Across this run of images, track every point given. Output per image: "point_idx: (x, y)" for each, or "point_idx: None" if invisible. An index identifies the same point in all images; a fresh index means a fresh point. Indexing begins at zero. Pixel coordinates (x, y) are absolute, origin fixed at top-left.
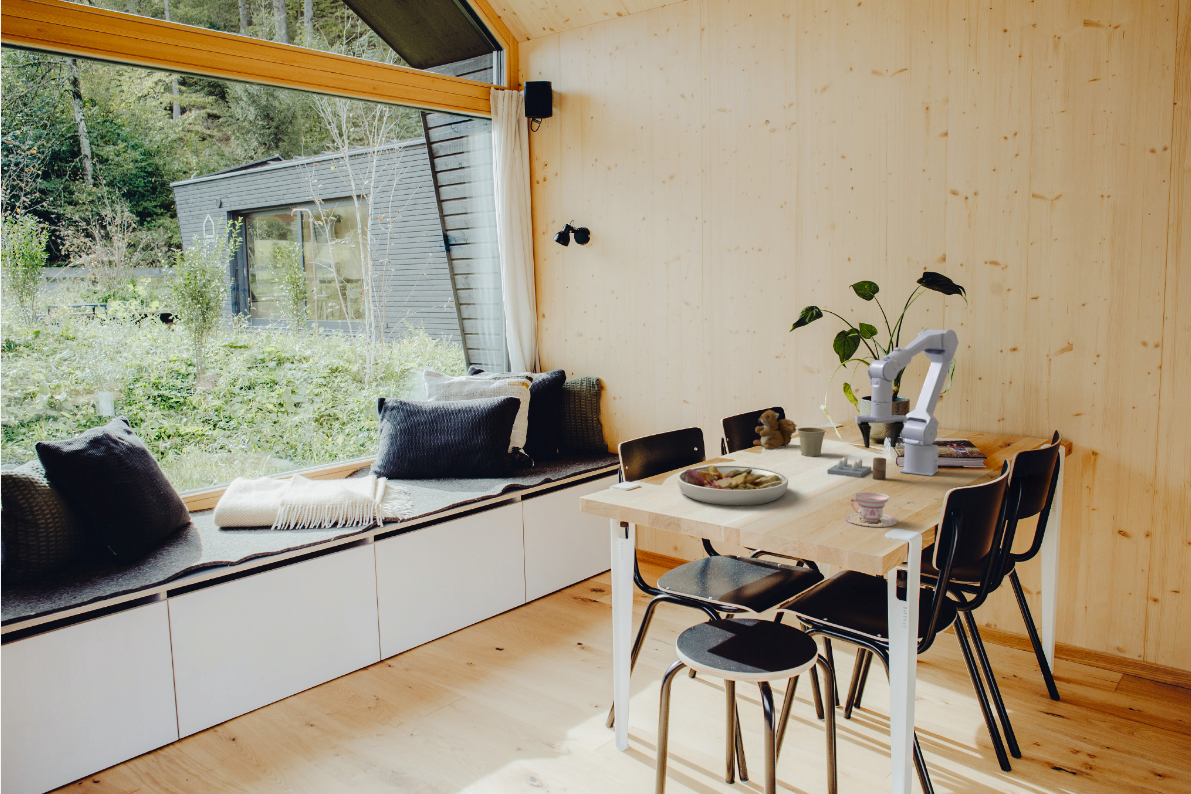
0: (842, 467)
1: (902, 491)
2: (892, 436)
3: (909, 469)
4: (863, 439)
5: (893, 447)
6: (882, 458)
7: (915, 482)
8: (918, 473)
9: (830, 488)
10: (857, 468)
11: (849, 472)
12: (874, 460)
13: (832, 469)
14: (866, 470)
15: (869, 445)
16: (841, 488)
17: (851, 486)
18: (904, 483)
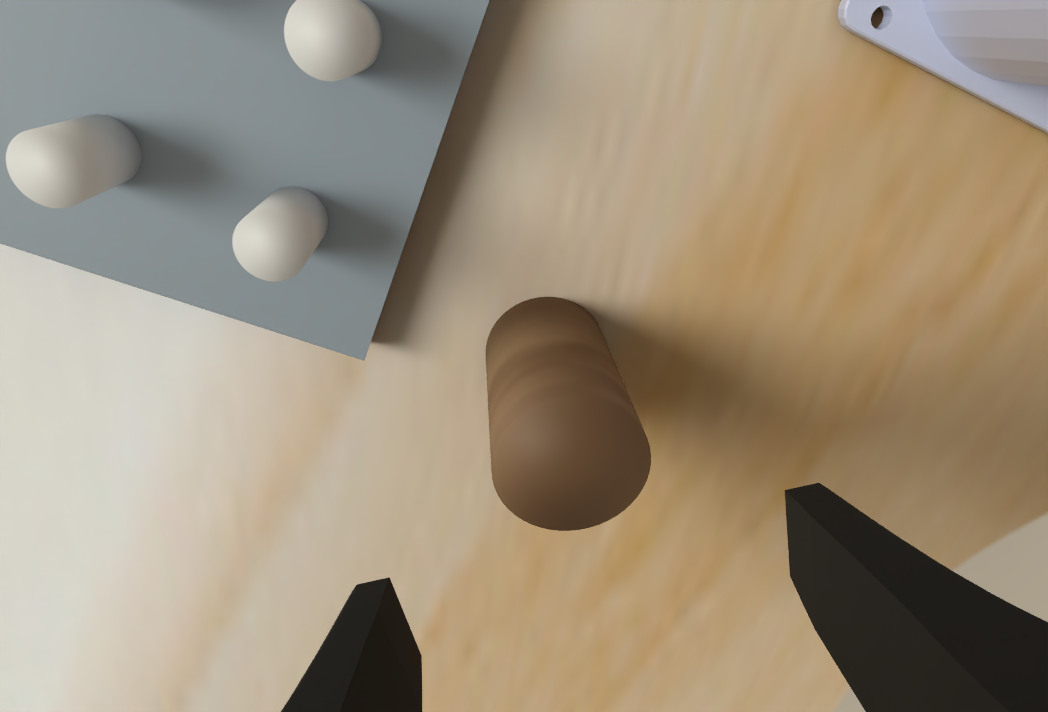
0: (132, 166)
1: (650, 683)
2: (894, 665)
3: (957, 41)
4: (302, 679)
5: (797, 576)
6: (609, 446)
7: (833, 430)
8: (1005, 110)
9: (153, 708)
10: (322, 234)
11: (245, 319)
12: (502, 491)
13: (25, 211)
14: (435, 154)
15: (421, 698)
16: (232, 694)
17: (301, 635)
18: (730, 478)
